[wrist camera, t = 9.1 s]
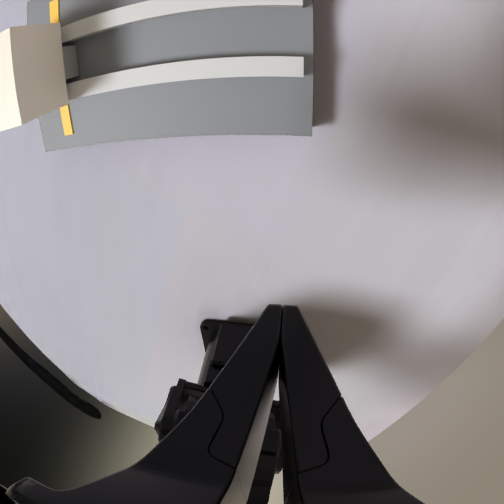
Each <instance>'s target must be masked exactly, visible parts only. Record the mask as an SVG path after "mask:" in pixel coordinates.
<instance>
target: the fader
mask: <svg viewBox="0 0 504 504" xmlns="http://www.w3.org/2000/svg"><path fill="white" fill-rule="evenodd" d="M76 76H79V71H78V62H77V51H76V45H71V46H63V47H62V40H61V25H60V23H49V24H37V25H27V26H18V27H11V28H8V29H6V30H5V31H3V32H1V33H0V131H3V130H7V129H10V128H13V127H16V126H20V125H23V124H25V123H27V122H29V121H31V120H33V119H35V118H38V117H40V116H42V115H44V114H47V113H49V112H51V111H54V110H56V109H58V108H61V107H63V106H66V105H68V104H69V100H68V93H67V86H66V79H69V78H73V77H76Z"/></svg>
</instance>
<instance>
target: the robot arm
mask: <svg viewBox="0 0 504 504" xmlns="http://www.w3.org/2000/svg"><path fill="white" fill-rule="evenodd" d="M200 329H201V333H202V338H203V343H204V347H205V352H206V354H205V358H204V361H203V365H202V369H201V373H200V376H199V380H198V384H195V383H191V382H187V381H186V380H184V379H180V378H179V381H178V384H177V386H173V387H171V388H170V392H169V395H168V398H167V401H166V403H165V406H164V408H163V410H162V411H161V413H160V415H159V417H158V419H157V421H156V423H155V427H154V429H155V431H156V432H157V434H158V435H159V438H158V441H159V443H158V445H156V446H155V447H154V448H153V449H152V450H151V451H150V452H149V453H148V454H147V455H146V456H145V457H143V458H142V459H141V460H140V461H138V462H137V463H135V464H134V465H132V466H130V467H128V468H126V469H124V470H121V471H119V472H116V473H114V474H112V475H109V476H106V477H104V478H101V479H99V480H96V481H94V482H91V483H88V484H85V485H82V486H79V487H77V488H73V489H69V490H53V489H51V488H48V487H46V486H44V485H42V484H41V483H39V482H37V481H35V480H33V479H31V478H29V477H26V478H24V479H22V480H20V481H19V482H16V483H15V484H13V485H12V486H11V487H9V488H8V489H7V488H5V487H4V486H2V485H0V504H267V503H268V501H269V495H270V489H271V486H272V482H273V478H274V474H278V473H279V472H280V471H281V470H282V468H283V492H284V504H424V503H423V502H421V501H420V500H418V499H417V498H415V497H414V496H413V495H411V494H409V493H408V492H407V491H405V490H404V489H403V488H402V487H400V486H399V485H398V484H397V483H396V482H395V480H394V479H393V478H392V477H391V476H390V474H389V473H388V472H387V470H386V469H385V467H384V466H383V464H382V463H381V461H380V460H379V458H378V457H377V455H376V454H375V452H374V451H373V449H372V448H371V446H370V445H369V443H368V442H367V440H366V439H365V437H364V435H363V434H362V432H361V431H360V429H359V427H358V426H357V424H356V422H355V420H354V419H353V417H352V415H351V413H350V411H349V409H348V407H347V405H346V403H345V401H344V399H343V397H341V393H340V391H339V389H338V387H337V385H336V382H335V380H334V378H333V376H332V374H331V372H330V370H329V368H328V366H327V364H326V362H325V360H324V358H323V356H322V354H321V352H320V350H319V348H318V346H317V344H316V341H315V339H314V337H313V335H312V333H311V331H310V329H309V327H308V325H307V323H306V321H305V319H304V317H303V315H302V313H301V311H300V309H299V307H298V306H296V305H284V306H282V305H279V304H269V305H268V306H267V307H266V308H265V310H264V311H263V313H262V314H261V315H260V317H259V318H258V320H257V321H256V323H255V324H254V325H252V324H239V323H226V322H215V321H202V322H201V325H200ZM278 371H279V399H280V400H279V401H276V400H273V397H274V393H275V388H276V384H277V379H278Z"/></svg>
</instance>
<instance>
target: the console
mask: <svg viewBox="0 0 504 504" xmlns="http://www.w3.org/2000/svg"><path fill="white" fill-rule="evenodd" d="M49 23H60V25H61V40H62V47H63V46H71V45H76V51H77V62H78V71H79V76H76V77H73V78H69V79H66V86H67V93H68V100H69V104H68V105H66V106H63V107H61V108H58V109H56V110H54V111H51V112H49V113H47V114H44V115H42V116H40V117H39V122H40V127H41V132H42V137H43V141H44V146H45V150H46V152H48V151H54V150H60V149H66V148H73V147H79V146H86V145H94V144H102V143H110V142H119V141H129V140H139V139H151V138H165V137H181V136H203V135H292V136H312V114H313V0H30V1H28V2H27V24H28V25H37V24H49Z"/></svg>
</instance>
